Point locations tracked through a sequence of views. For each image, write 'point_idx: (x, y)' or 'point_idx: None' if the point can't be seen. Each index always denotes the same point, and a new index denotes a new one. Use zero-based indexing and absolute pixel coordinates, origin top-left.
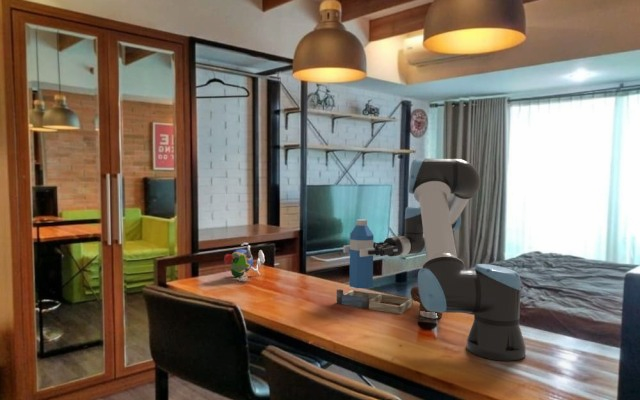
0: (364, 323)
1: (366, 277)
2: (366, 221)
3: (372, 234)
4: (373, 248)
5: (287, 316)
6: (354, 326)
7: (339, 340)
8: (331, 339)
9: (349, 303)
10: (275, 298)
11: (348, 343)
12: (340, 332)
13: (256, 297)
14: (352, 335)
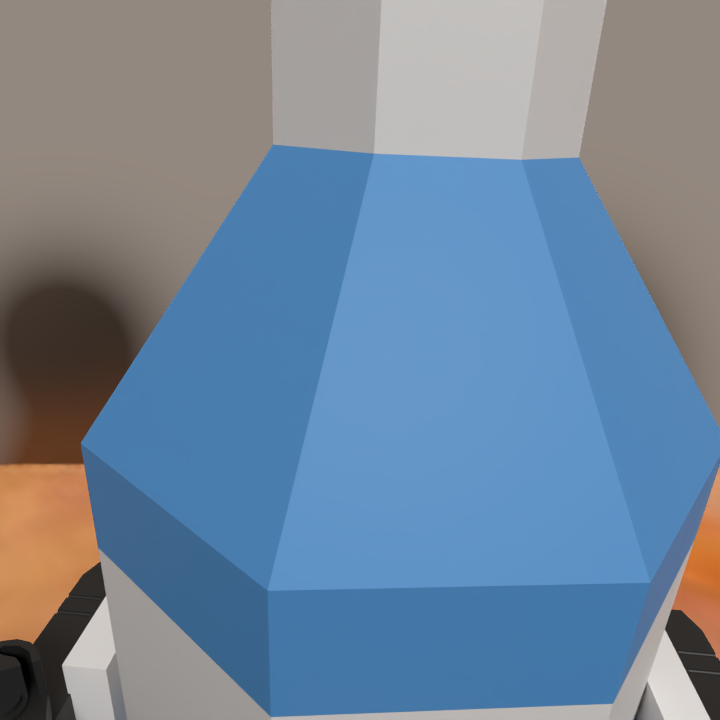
0: (28, 640)
1: None
2: (271, 10)
3: (105, 409)
4: (81, 643)
5: None
6: (60, 582)
7: (50, 475)
8: (81, 468)
9: None
10: (680, 586)
11: (8, 477)
12: (84, 512)
13: (716, 540)
14: (24, 520)
